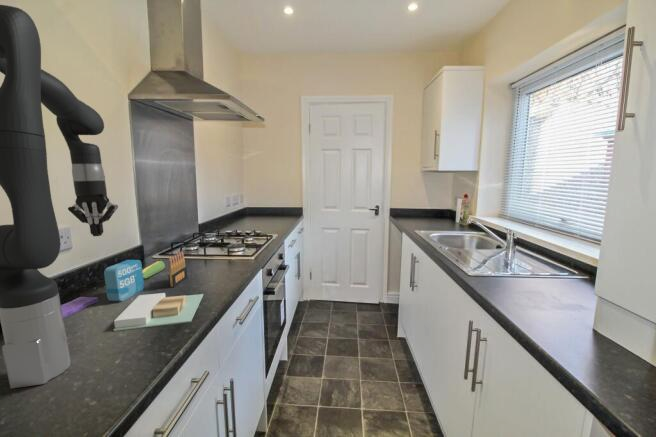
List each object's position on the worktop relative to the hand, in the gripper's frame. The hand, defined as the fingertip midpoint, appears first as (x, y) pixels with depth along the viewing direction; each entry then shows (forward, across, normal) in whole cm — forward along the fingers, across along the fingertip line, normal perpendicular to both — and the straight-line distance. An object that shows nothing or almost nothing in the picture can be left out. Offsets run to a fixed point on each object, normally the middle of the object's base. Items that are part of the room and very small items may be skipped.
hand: (97, 235), depth 92 cm
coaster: (+24, +20, -6) cm, 32 cm away
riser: (+24, +12, -5) cm, 28 cm away
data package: (+25, +1, +11) cm, 27 cm away
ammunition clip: (+25, +15, +21) cm, 36 cm away
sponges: (+25, -13, +4) cm, 29 cm away
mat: (+24, +18, -5) cm, 31 cm away
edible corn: (+25, +1, +33) cm, 42 cm away
